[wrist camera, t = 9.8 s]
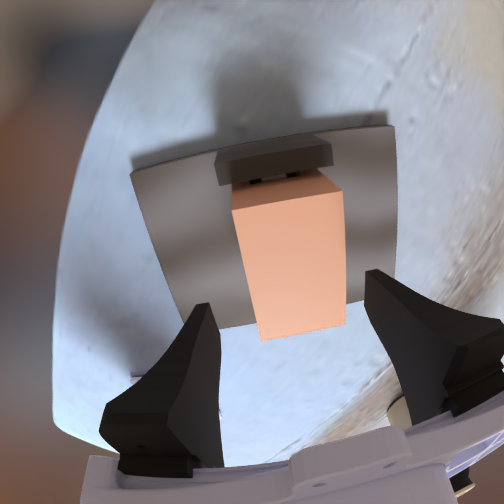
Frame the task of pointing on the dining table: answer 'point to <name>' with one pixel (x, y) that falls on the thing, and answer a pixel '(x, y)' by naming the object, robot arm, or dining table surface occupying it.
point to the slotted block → (293, 252)
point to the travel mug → (401, 418)
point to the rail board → (256, 171)
